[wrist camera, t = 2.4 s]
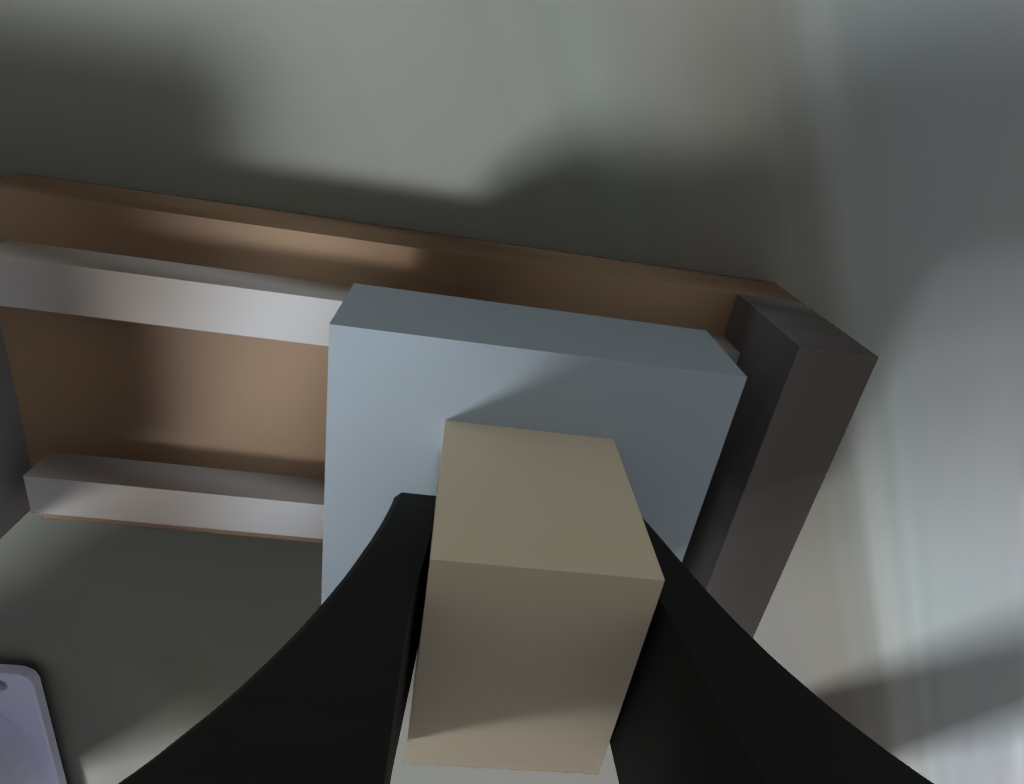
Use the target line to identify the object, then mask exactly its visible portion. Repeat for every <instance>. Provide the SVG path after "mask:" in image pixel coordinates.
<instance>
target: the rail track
mask: <svg viewBox="0 0 1024 784" xmlns="http://www.w3.org/2000/svg"><path fill="white" fill-rule="evenodd" d="M354 283H357V284H364V285H371V286H379V287H386V288H394V289H401V290H409V291H416V292H423V293H431V294H438V295H446V296H453V297H461V298H468V299H475V300H483V301H490V302H498V303H505V304H512V305H520V306H527V307H535V308H542V309H550V310H557V311H564V312H572V313H579V314H587V315H594V316H602V317H609V318H616V319H624V320H631V321H639V322H646V323H653V324H661V325H668V326H676V327H683V328H691V329H698V330H705V331H707V332H708V333H709V334H710V335H711V337H712V338H713V339H714V340H715V341H716V342H717V343H718V345H719V346H720V347H721V348H722V349H723V350H724V351H725V353H726V354H727V355H728V356H729V357H730V358H731V359H732V361H733V362H734V363H735V364H736V365H737V366H738V367H739V368H740V370H741V371H742V372H743V373H744V374H745V375H746V376H747V379H746V382H745V385H744V388H743V391H742V394H741V396H740V399H739V402H738V405H737V408H736V411H735V413H734V416H733V419H732V422H731V425H730V428H729V430H728V433H727V436H726V439H725V442H724V445H723V447H722V450H721V453H720V456H719V459H718V462H717V464H716V467H715V470H714V473H713V476H712V478H711V481H710V484H709V487H708V490H707V493H706V495H705V498H704V501H703V504H702V507H701V510H700V512H699V515H698V518H697V521H696V524H695V527H694V529H693V532H692V535H691V538H690V541H689V544H688V546H687V549H686V552H685V555H684V558H683V561H682V563H683V564H684V566H685V567H686V568H687V569H688V570H689V571H690V573H691V574H692V575H693V576H694V577H695V578H696V579H697V580H698V582H699V583H700V584H701V585H702V586H703V587H704V588H705V589H706V590H707V592H708V593H709V594H710V595H711V596H712V597H713V598H714V599H715V600H716V601H717V602H718V603H719V605H720V606H721V607H722V608H723V609H724V610H725V611H726V612H727V613H728V614H729V615H730V616H731V617H732V618H733V619H734V620H735V621H736V622H737V623H738V624H739V625H740V626H741V627H742V628H743V629H744V630H745V631H746V632H747V633H748V634H749V635H750V636H751V637H752V638H753V636H754V634H755V632H756V629H757V627H758V625H759V623H760V620H761V618H762V616H763V614H764V612H765V609H766V607H767V605H768V603H769V600H770V598H771V596H772V594H773V591H774V589H775V587H776V585H777V582H778V580H779V578H780V576H781V574H782V571H783V569H784V567H785V565H786V562H787V560H788V558H789V556H790V553H791V551H792V549H793V547H794V544H795V542H796V540H797V538H798V536H799V533H800V531H801V529H802V527H803V524H804V522H805V520H806V518H807V515H808V513H809V511H810V509H811V507H812V504H813V502H814V500H815V498H816V495H817V493H818V491H819V489H820V486H821V484H822V482H823V480H824V477H825V475H826V473H827V471H828V469H829V466H830V464H831V462H832V460H833V457H834V455H835V453H836V451H837V448H838V446H839V444H840V442H841V439H842V437H843V435H844V433H845V431H846V428H847V426H848V424H849V422H850V419H851V417H852V415H853V413H854V410H855V408H856V406H857V404H858V402H859V399H860V397H861V395H862V393H863V390H864V388H865V386H866V384H867V381H868V379H869V377H870V375H871V372H872V370H873V368H874V366H875V364H876V361H877V359H878V356H876V355H875V354H873V353H872V352H871V351H869V350H868V349H866V348H865V347H863V346H862V345H861V344H859V343H858V342H856V341H855V340H854V339H852V338H851V337H849V336H848V335H847V334H845V333H844V332H842V331H841V330H840V329H838V328H837V327H835V326H834V325H833V324H831V323H830V322H828V321H827V320H826V319H824V318H823V317H821V316H820V315H819V314H817V313H816V312H814V311H813V310H812V309H810V308H809V307H807V306H806V305H805V304H803V303H802V302H800V301H799V300H797V299H796V298H795V297H793V296H792V295H790V294H789V293H788V292H786V291H785V290H783V289H782V288H781V287H779V286H778V285H776V284H775V283H772V282H765V281H758V280H751V279H744V278H737V277H730V276H724V275H717V274H710V273H703V272H696V271H689V270H682V269H675V268H668V267H662V266H655V265H648V264H641V263H634V262H627V261H620V260H613V259H606V258H599V257H593V256H586V255H579V254H572V253H565V252H558V251H551V250H544V249H537V248H531V247H524V246H517V245H510V244H503V243H496V242H489V241H482V240H475V239H468V238H462V237H455V236H448V235H441V234H434V233H427V232H420V231H413V230H406V229H399V228H393V227H386V226H379V225H372V224H365V223H358V222H351V221H344V220H337V219H331V218H324V217H317V216H310V215H303V214H296V213H289V212H282V211H275V210H268V209H262V208H255V207H248V206H241V205H234V204H227V203H220V202H213V201H206V200H200V199H193V198H186V197H179V196H172V195H165V194H158V193H151V192H144V191H137V190H131V189H124V188H117V187H110V186H103V185H96V184H89V183H82V182H75V181H68V180H62V179H55V178H48V177H41V176H34V175H27V174H18V175H14V176H9V177H4V178H0V322H1V327H2V331H3V336H4V341H5V345H6V350H7V355H8V359H9V364H10V369H11V373H12V378H13V383H14V387H15V392H16V397H17V401H18V406H19V411H20V415H21V420H22V424H23V429H24V434H25V438H26V443H27V448H28V452H29V457H30V462H31V466H32V468H31V469H30V470H29V471H28V472H27V473H26V474H25V475H23V478H24V482H25V487H26V491H27V496H28V500H29V505H30V509H31V512H33V513H42V518H50V519H61V520H72V521H83V522H94V523H105V524H116V525H127V526H138V527H149V528H160V529H171V530H182V531H193V532H205V533H216V534H227V535H238V536H249V537H260V538H271V539H282V540H293V541H304V542H315V543H323V521H324V487H325V452H326V418H327V384H328V349H329V324H330V322H331V320H332V319H333V317H334V315H335V314H336V312H337V310H338V309H339V307H340V306H341V304H342V302H343V301H344V299H345V297H346V296H347V294H348V292H349V291H350V289H351V287H352V286H353V284H354Z"/></svg>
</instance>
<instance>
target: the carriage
mask: <svg viewBox="0 0 1024 784" xmlns="http://www.w3.org/2000/svg"><path fill="white" fill-rule="evenodd" d="M746 379H747V376H746V375H745V374H744V373H743V372H742V371H741V370H740V368H739V367H738V366H737V365H736V364H735V363H734V362H733V361H732V359H731V358H730V357H729V356H728V355H727V354H726V353H725V351H724V350H723V349H722V348H721V347H720V346H719V345H718V343H717V342H716V341H715V340H714V339H713V338H712V337H711V335H710V334H709V333H708V332H707V331H705V330H698V329H691V328H683V327H676V326H668V325H661V324H653V323H646V322H639V321H631V320H624V319H616V318H609V317H602V316H594V315H587V314H579V313H572V312H564V311H557V310H550V309H542V308H535V307H527V306H520V305H512V304H505V303H498V302H490V301H483V300H475V299H468V298H461V297H453V296H446V295H438V294H431V293H423V292H416V291H409V290H401V289H394V288H386V287H379V286H371V285H364V284H357V283H354V284H353V286H352V287H351V289H350V291H349V292H348V294H347V296H346V297H345V299H344V301H343V302H342V304H341V306H340V307H339V309H338V310H337V312H336V314H335V315H334V317H333V319H332V320H331V322H330V324H329V349H328V384H327V418H326V452H325V487H324V521H323V556H322V590H321V605H322V604H323V603H324V601H325V600H326V599H327V598H328V597H329V595H330V594H331V593H332V592H333V590H334V589H335V588H336V587H337V586H338V584H339V583H340V582H341V581H342V579H343V578H344V577H345V576H346V574H347V573H348V572H349V570H350V569H351V568H352V566H353V565H354V563H355V562H356V561H357V559H358V558H359V556H360V555H361V554H362V552H363V551H364V549H365V548H366V547H367V545H368V544H369V542H370V541H371V539H372V538H373V536H374V535H375V533H376V531H377V530H378V528H379V527H380V525H381V523H382V522H383V520H384V518H385V516H386V514H387V512H388V510H389V509H390V507H391V504H392V502H393V499H394V497H395V496H397V495H398V494H400V493H401V492H403V493H413V494H423V495H433V496H436V502H435V512H434V522H433V531H432V539H431V547H430V555H429V563H428V571H427V579H426V587H425V595H424V603H423V611H422V619H421V627H420V635H419V643H418V650H417V657H416V666H415V675H414V684H413V693H412V702H411V711H410V720H409V729H408V738H407V747H406V756H405V764H418V765H437V766H455V767H473V768H492V769H510V770H528V771H546V772H565V773H583V774H599V771H600V768H601V765H602V762H603V759H604V756H605V753H606V750H607V747H608V745H609V742H610V739H611V736H612V733H613V730H614V727H615V724H616V721H617V718H618V715H619V713H620V710H621V707H622V704H623V701H624V698H625V695H626V692H627V689H628V686H629V683H630V680H631V678H632V675H633V672H634V669H635V666H636V663H637V660H638V657H639V654H640V651H641V648H642V646H643V643H644V640H645V637H646V634H647V631H648V628H649V625H650V622H651V619H652V616H653V614H654V611H655V608H656V605H657V602H658V599H659V596H660V593H661V590H662V587H663V584H664V582H665V579H664V576H663V574H662V571H661V568H660V565H659V563H658V560H657V557H656V554H655V552H654V549H653V546H652V543H651V541H650V538H649V535H648V532H647V530H646V527H645V524H644V521H643V519H642V517H643V518H644V520H645V521H646V522H647V523H648V524H649V525H650V526H651V527H652V528H653V530H654V531H655V532H656V533H657V534H658V535H659V537H660V538H661V539H662V540H663V541H664V542H665V544H666V545H667V546H668V547H669V548H670V549H671V551H672V552H673V553H674V554H675V555H676V556H677V558H678V559H679V560H680V561H681V562H682V561H683V558H684V555H685V552H686V549H687V546H688V544H689V541H690V538H691V535H692V532H693V529H694V527H695V524H696V521H697V518H698V515H699V512H700V510H701V507H702V504H703V501H704V498H705V495H706V493H707V490H708V487H709V484H710V481H711V478H712V476H713V473H714V470H715V467H716V464H717V462H718V459H719V456H720V453H721V450H722V447H723V445H724V442H725V439H726V436H727V433H728V430H729V428H730V425H731V422H732V419H733V416H734V413H735V411H736V408H737V405H738V402H739V399H740V396H741V394H742V391H743V388H744V385H745V382H746Z"/></svg>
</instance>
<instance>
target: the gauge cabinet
mask: <svg viewBox="0 0 1024 784" xmlns="http://www.w3.org/2000/svg"><path fill="white" fill-rule="evenodd" d="M31 468H32V466H31V462H30V457H29V452H28V448H27V443H26V438H25V434H24V429H23V424H22V420H21V415H20V411H19V406H18V401H17V397H16V392H15V387H14V383H13V378H12V373H11V369H10V364H9V359H8V355H7V350H6V345H5V341H4V336H3V331H2V327H1V322H0V539H1V538H2V537H3V536H4V535H5V534H6V533H7V532H8V531H9V530H10V529H11V528H12V527H13V526H14V525H15V524H16V523H17V522H18V521H19V520H20V519H21V518H22V517H23V516H24V515H25V514H27V513H28V512H29V511H30V510H31V509H30V505H29V500H28V496H27V491H26V487H25V482H24V478H23V475H25V474H26V473H27V472H28V471H29V470H30V469H31Z"/></svg>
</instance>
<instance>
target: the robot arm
mask: <svg viewBox="0 0 1024 784" xmlns="http://www.w3.org/2000/svg"><path fill="white" fill-rule="evenodd" d="M435 502H436V496H433V495H423V494H413V493H403V492H401V493H400V494H398V495H397V496H395V497H394V499H393V502H392V504H391V507H390V509H389V510H388V512H387V514H386V516H385V518H384V520H383V522H382V523H381V525H380V527H379V528H378V530H377V531H376V533H375V535H374V536H373V538H372V539H371V541H370V542H369V544H368V545H367V547H366V548H365V549H364V551H363V552H362V554H361V555H360V556H359V558H358V559H357V561H356V562H355V563H354V565H353V566H352V568H351V569H350V570H349V572H348V573H347V574H346V576H345V577H344V578H343V579H342V581H341V582H340V583H339V584H338V586H337V587H336V588H335V589H334V590H333V592H332V593H331V594H330V595H329V597H328V598H327V599H326V600H325V601H324V603H323V604H322V605H321V606H320V607H319V609H318V610H317V611H316V612H315V613H314V614H313V615H312V617H311V618H310V619H309V620H308V621H307V622H306V623H305V624H304V625H303V627H302V628H301V629H300V630H299V631H298V632H297V633H296V634H295V635H294V636H293V637H292V638H291V639H290V640H289V641H288V642H287V643H286V644H285V645H284V646H283V647H282V648H281V649H280V650H279V651H278V652H277V653H276V654H275V655H274V656H273V657H272V658H271V659H270V660H269V661H268V662H267V663H266V664H265V665H264V666H263V667H262V668H261V669H260V670H258V671H257V672H256V673H255V674H254V675H253V676H252V677H251V678H250V679H249V680H248V681H247V682H246V683H245V684H243V685H242V686H241V687H240V688H239V689H238V690H237V691H236V692H235V693H233V694H232V695H231V696H230V697H229V698H228V699H227V700H225V701H224V702H223V703H222V704H221V705H220V706H218V707H217V708H216V709H215V710H214V711H213V712H211V713H210V714H209V715H207V716H206V717H205V718H204V719H202V720H201V721H200V722H199V723H197V724H196V725H195V726H194V727H192V728H191V729H190V730H189V731H187V732H186V733H185V734H184V735H182V736H181V737H180V738H179V739H177V740H176V741H175V742H174V743H172V744H171V745H170V746H169V747H167V748H166V749H165V750H164V751H162V752H161V753H160V754H158V755H157V756H156V757H155V758H153V759H152V760H151V761H149V762H148V763H147V764H145V765H144V766H143V767H141V768H140V769H138V770H137V771H136V772H134V773H133V774H132V775H130V776H129V777H127V778H126V779H124V780H123V781H121V782H120V783H119V784H390V780H391V774H392V769H393V764H394V759H395V755H396V750H397V745H398V740H399V736H400V731H401V726H402V721H403V717H404V712H405V707H406V702H407V698H408V693H409V688H410V684H411V679H412V674H413V669H414V664H415V660H416V655H417V650H418V643H419V635H420V627H421V619H422V611H423V603H424V595H425V587H426V579H427V571H428V563H429V555H430V547H431V539H432V531H433V522H434V512H435ZM642 519H643V521H644V524H645V527H646V530H647V532H648V535H649V538H650V541H651V543H652V546H653V549H654V552H655V554H656V557H657V560H658V563H659V565H660V568H661V571H662V574H663V576H664V579H665V582H664V584H663V587H662V590H661V593H660V596H659V599H658V602H657V605H656V608H655V611H654V614H653V616H652V619H651V622H650V625H649V628H648V631H647V634H646V637H645V640H644V643H643V646H642V648H641V651H640V654H639V657H638V660H637V663H636V666H635V669H634V672H633V675H632V678H631V680H630V683H629V686H628V689H627V692H626V695H625V698H624V701H623V704H622V707H621V710H620V713H619V715H618V718H617V721H616V724H615V727H614V730H613V733H612V736H611V739H610V745H611V749H612V754H613V758H614V763H615V767H616V771H617V776H618V780H619V784H933V783H932V782H930V781H929V780H927V779H926V778H924V777H923V776H921V775H920V774H919V773H917V772H916V771H914V770H913V769H912V768H910V767H909V766H907V765H906V764H904V763H903V762H902V761H900V760H899V759H897V758H896V757H895V756H893V755H892V754H890V753H889V752H888V751H886V750H885V749H884V748H882V747H881V746H880V745H878V744H877V743H876V742H874V741H873V740H872V739H870V738H869V737H868V736H866V735H865V734H864V733H862V732H861V731H860V730H859V729H857V728H856V727H855V726H853V725H852V724H851V723H849V722H848V721H847V720H845V719H844V718H843V717H841V716H840V715H839V714H838V713H837V712H835V711H834V710H833V709H832V708H830V707H829V706H828V705H827V704H825V703H824V702H823V701H822V700H820V699H819V698H818V697H817V696H816V695H815V694H813V693H812V692H811V691H810V690H809V689H808V688H807V687H805V686H804V685H803V684H802V683H801V682H800V681H798V680H797V679H796V678H795V677H794V676H793V675H792V674H790V673H789V672H788V671H787V670H786V669H785V668H783V667H782V666H781V665H780V664H779V663H778V662H777V661H776V660H775V659H774V658H773V657H771V656H770V655H769V654H768V653H767V652H766V651H765V650H764V649H763V648H762V647H761V646H760V645H759V644H758V643H757V642H756V641H755V640H754V639H753V638H752V637H751V636H750V635H749V634H748V633H747V632H746V631H745V630H744V629H743V628H742V627H741V626H740V625H739V624H738V623H737V622H736V621H735V620H734V619H733V618H732V617H731V616H730V615H729V614H728V613H727V612H726V611H725V610H724V609H723V608H722V607H721V606H720V605H719V603H718V602H717V601H716V600H715V599H714V598H713V597H712V596H711V595H710V594H709V593H708V592H707V590H706V589H705V588H704V587H703V586H702V585H701V584H700V583H699V582H698V580H697V579H696V578H695V577H694V576H693V575H692V574H691V573H690V571H689V570H688V569H687V568H686V567H685V566H684V564H683V563H682V562H681V561H680V560H679V559H678V558H677V556H676V555H675V554H674V553H673V552H672V551H671V549H670V548H669V547H668V546H667V545H666V544H665V542H664V541H663V540H662V539H661V538H660V537H659V535H658V534H657V533H656V532H655V531H654V530H653V528H652V527H651V526H650V525H649V524H648V523H647V522H646V521H645V520H644V518H643V517H642ZM0 784H67V782H66V778H65V774H64V771H63V767H62V763H61V759H60V755H59V751H58V747H57V743H56V739H55V735H54V731H53V727H52V723H51V719H50V715H49V711H48V707H47V703H46V699H45V695H44V691H43V687H42V683H41V679H40V676H39V675H38V673H37V672H36V671H35V670H34V669H32V668H30V667H28V666H22V665H9V664H0Z"/></svg>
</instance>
